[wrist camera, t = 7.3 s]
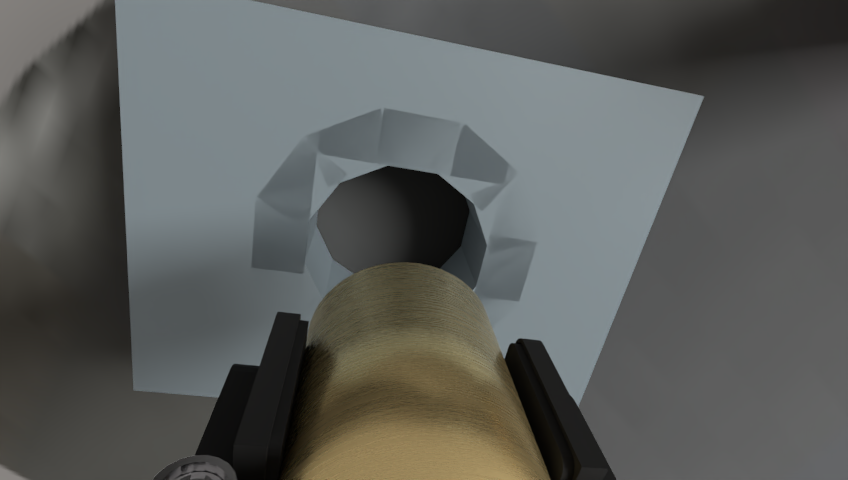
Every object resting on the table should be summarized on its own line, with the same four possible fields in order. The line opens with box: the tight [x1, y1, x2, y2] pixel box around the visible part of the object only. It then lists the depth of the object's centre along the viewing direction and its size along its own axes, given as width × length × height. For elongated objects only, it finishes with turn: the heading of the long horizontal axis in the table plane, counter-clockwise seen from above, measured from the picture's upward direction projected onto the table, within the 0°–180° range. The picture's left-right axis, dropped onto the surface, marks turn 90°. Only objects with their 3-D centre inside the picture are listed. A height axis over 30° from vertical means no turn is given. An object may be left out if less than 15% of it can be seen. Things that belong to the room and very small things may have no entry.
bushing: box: [279, 262, 551, 480], centre depth 10 cm, size 5×5×8 cm
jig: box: [115, 0, 704, 406], centre depth 21 cm, size 20×16×4 cm
